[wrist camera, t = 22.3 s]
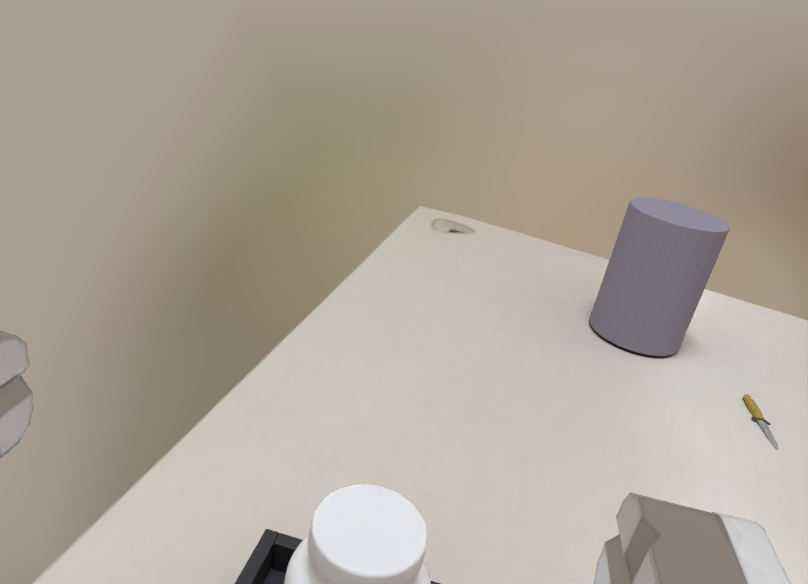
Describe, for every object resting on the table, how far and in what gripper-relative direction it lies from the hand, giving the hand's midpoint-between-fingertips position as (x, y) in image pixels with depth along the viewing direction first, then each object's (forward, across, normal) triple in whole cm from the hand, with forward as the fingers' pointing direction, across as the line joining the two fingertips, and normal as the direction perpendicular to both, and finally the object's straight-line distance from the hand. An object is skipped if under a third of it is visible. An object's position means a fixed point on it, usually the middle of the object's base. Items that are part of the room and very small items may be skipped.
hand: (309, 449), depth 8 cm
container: (+62, -22, +25) cm, 71 cm away
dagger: (+48, -33, +25) cm, 63 cm away
